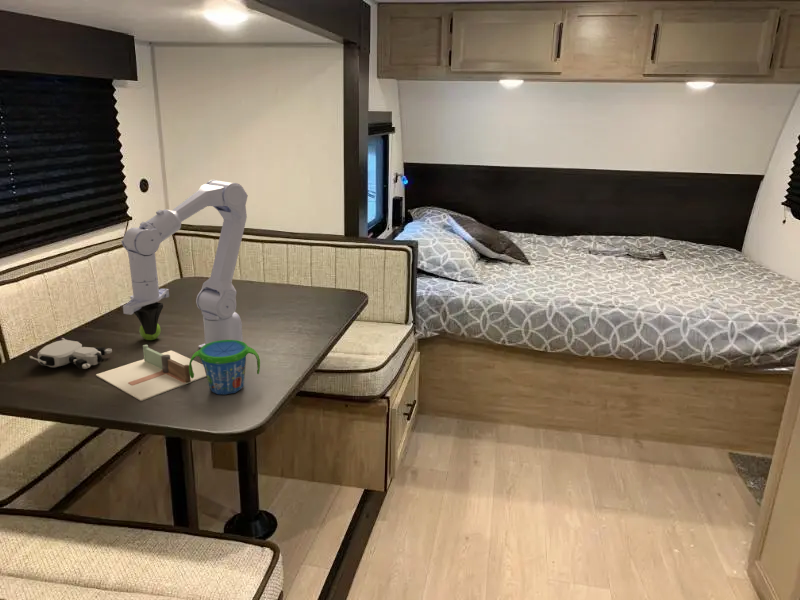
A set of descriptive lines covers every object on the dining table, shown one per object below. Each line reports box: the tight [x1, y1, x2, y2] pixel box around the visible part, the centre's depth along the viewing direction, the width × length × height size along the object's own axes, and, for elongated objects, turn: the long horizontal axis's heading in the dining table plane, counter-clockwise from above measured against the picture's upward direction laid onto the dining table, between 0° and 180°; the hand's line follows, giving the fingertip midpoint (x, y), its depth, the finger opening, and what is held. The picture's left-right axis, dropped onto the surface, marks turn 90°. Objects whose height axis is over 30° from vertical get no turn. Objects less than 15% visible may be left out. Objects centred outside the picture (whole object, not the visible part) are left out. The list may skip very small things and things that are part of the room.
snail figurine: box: [138, 322, 162, 341], centre depth 167 cm, size 5×6×12 cm
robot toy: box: [29, 337, 113, 370], centre depth 152 cm, size 12×4×15 cm
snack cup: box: [189, 340, 261, 396], centre depth 140 cm, size 16×10×10 cm
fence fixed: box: [161, 355, 192, 384], centre depth 146 cm, size 2×10×4 cm, turn 52°
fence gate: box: [142, 344, 163, 369], centre depth 151 cm, size 1×8×4 cm, turn 52°
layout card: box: [95, 350, 207, 402], centre depth 148 cm, size 20×20×1 cm
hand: (150, 333), depth 148 cm, fingers closed
